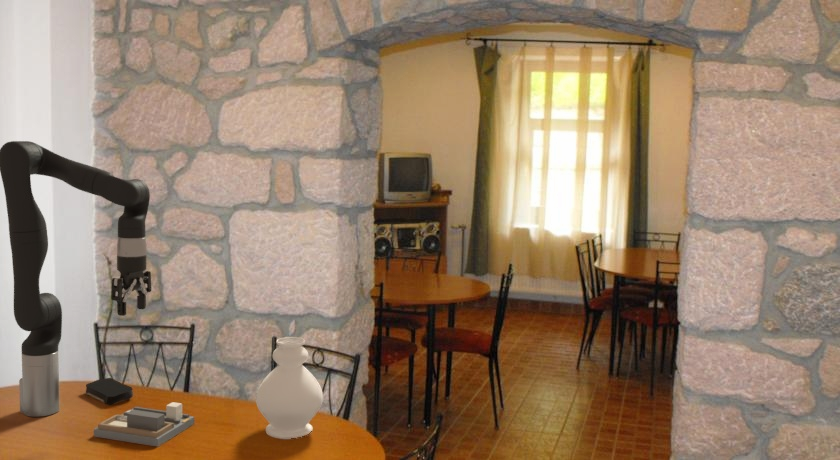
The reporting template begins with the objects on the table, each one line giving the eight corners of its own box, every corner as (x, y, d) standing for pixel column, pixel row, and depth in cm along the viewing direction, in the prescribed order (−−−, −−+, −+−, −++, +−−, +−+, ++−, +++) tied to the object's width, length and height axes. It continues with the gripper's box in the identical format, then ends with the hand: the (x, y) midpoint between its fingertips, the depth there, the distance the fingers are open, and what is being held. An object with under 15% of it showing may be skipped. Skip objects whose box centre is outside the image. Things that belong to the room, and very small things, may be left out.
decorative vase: (288, 413, 228) (290, 328, 225) (335, 429, 218) (337, 340, 215) (241, 431, 214) (242, 340, 210) (289, 448, 203) (291, 353, 200)
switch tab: (166, 419, 214) (166, 405, 214) (172, 416, 217) (172, 402, 217) (176, 421, 213) (176, 407, 213) (182, 417, 216) (182, 403, 216)
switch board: (93, 436, 207) (93, 424, 206) (134, 414, 223) (134, 403, 222) (157, 446, 202) (157, 434, 201) (194, 423, 218) (194, 412, 217)
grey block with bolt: (113, 426, 208) (113, 411, 208) (121, 422, 211) (121, 407, 211) (157, 433, 205) (157, 418, 204) (164, 428, 208) (164, 414, 207)
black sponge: (136, 401, 235) (136, 389, 234) (108, 407, 228) (108, 395, 228) (109, 388, 245) (109, 376, 245) (82, 394, 239) (82, 382, 239)
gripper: (127, 258, 207) (127, 319, 209) (159, 251, 221) (159, 308, 223) (102, 255, 209) (103, 316, 211) (135, 248, 223) (136, 305, 225)
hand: (131, 312), depth 217 cm, fingers open, 8 cm apart
